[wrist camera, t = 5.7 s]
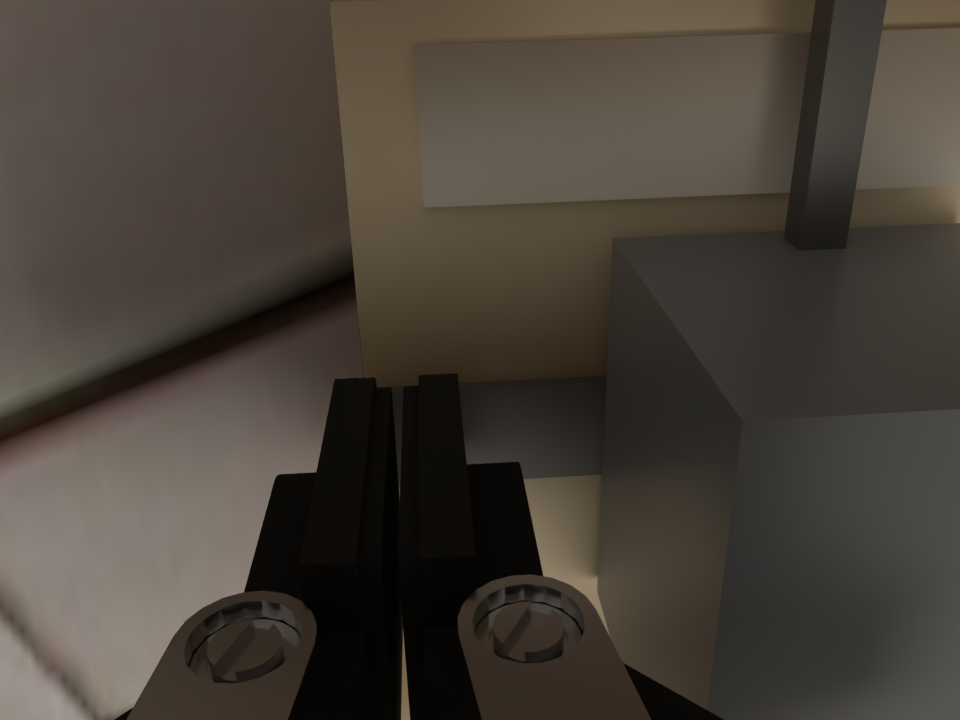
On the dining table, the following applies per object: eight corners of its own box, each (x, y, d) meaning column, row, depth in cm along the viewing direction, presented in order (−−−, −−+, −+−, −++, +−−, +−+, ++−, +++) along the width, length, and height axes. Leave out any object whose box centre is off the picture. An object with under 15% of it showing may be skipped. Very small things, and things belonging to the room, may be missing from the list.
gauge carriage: (624, -34, 10) (796, -29, 5) (1193, -49, 10) (1799, -57, 6) (597, 591, 14) (684, 894, 9) (1009, 564, 14) (1283, 843, 10)
